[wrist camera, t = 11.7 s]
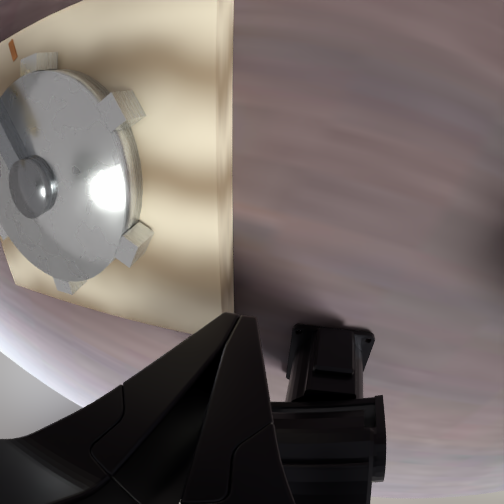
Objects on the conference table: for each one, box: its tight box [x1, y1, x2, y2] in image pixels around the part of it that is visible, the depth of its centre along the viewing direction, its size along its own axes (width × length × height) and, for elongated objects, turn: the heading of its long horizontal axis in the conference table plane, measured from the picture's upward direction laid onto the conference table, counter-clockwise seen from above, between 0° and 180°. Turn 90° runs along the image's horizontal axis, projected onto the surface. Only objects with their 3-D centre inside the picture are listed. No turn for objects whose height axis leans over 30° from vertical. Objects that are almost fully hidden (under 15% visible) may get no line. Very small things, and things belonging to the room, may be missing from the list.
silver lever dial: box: [0, 52, 154, 295], centre depth 16 cm, size 19×16×7 cm
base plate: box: [0, 0, 234, 334], centre depth 20 cm, size 24×24×3 cm
